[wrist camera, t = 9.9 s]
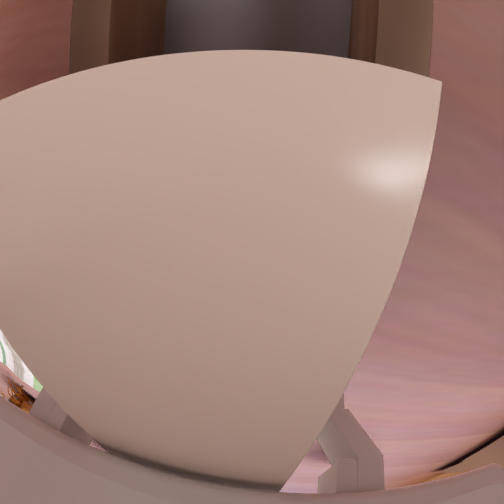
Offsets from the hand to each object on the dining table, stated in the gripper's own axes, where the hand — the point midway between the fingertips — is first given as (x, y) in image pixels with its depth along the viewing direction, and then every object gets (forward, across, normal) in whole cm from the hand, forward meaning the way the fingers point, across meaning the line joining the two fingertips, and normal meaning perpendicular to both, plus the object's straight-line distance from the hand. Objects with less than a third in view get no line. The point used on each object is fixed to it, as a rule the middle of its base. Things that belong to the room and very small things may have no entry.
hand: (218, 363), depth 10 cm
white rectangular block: (+6, 0, 0) cm, 6 cm away
